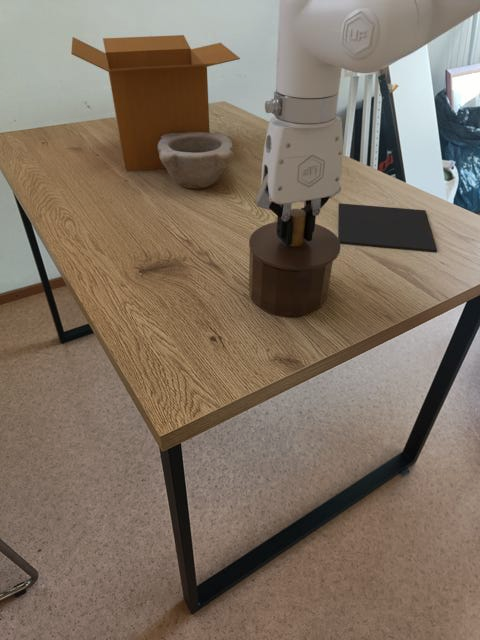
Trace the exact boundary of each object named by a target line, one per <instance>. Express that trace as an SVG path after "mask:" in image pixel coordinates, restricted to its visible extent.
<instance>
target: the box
mask: <svg viewBox="0 0 480 640" xmlns="http://www.w3.org/2000/svg"><path fill="white" fill-rule="evenodd" d="M102 41H103V47H104V50H105V51H102V50H100V49H98V48H96V47H95V46H92V45H90V44H89V43H87V42H84V41H82V40H80V39H78V38H76V37H75V36H72V39H71V50H70V51H71V55H72V56H74V57H76V58H78V59H81V60H83V61H85V62H86V63H89V64H91V65H93V66H95V67H97V68H99V69H102V70H104V71H106V72H108V77H109V84H110V90H111V97H112V101H113V107H114V113H115V119H116V126H117V131H118V137H119V143H120V149H121V153H122V159H123V164H124V165H123V166H124V169H125V171H126V172H134V171H143V170H153V169H154V170H155V169H162V168H163V169H164V168H166V167H165V166H164V165H163V163H162V162H161V160H160V157H159V152H158V143H159V141H160V140H161V136H163V135H164V134H168V133H187V132H207V133H211V132H210V111H209V109H210V108H209V85H208V84H209V83H208V68H209V67H212V66H216V65H221V64H225V63H230V62H234V61H237V60H238V61H239V60H240V59H241V57H240V56H238V55H237V54H235V53H234V52H233V51H232V50H231V49H229V48H228V47H227V46H226V45H224V44H223V43H222V42H215V43H213V44H208V45H203V46H199V47H195V48H191V46H190V45H189V42H188V40H187V38H186V36H185V35H184V34H178V35H151V36H129V37H127V36H125V37H124V36H123V37H106V38H105V37H103V38H102Z"/></svg>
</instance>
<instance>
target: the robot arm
mask: <svg viewBox="0 0 480 640" xmlns="http://www.w3.org/2000/svg"><path fill="white" fill-rule="evenodd" d="M479 12H480V0H279V6H278V26H277V50H276V51H277V52H276V80H275V85H276V86H275V91H274V92H273V99H272V98H271V100H265V104H264V110H265V113H266V114H272V115H274V117H271V118H269V122H268V126H267V130H266V135H265V141H264V146H263V153H262V164H261V176H260V177H261V179H260V180H261V182H260V183H261V184H260V186H259V189H258V190H257V191H256V192H257V193H256V195H255V197H254V199H253V202H254V203H255V204H256V205H257V206H258V207H259V208H262V209H265V210H269V211H271V212H272V213H273V214H275V216H277V218H276V222H277V236H278V237H279V238H280V239H281V240H282V241H283V242H284V243H285V245H286V246H288V245H290V244H291V243H292V230H293V221H292V220H291V219H290V213H291V209H292V205H293V204H296V203H302V202H303V207H301V208H300V209H302V210H304V211H305V212H306V220H305V230H304V239H305V240H306V241H312V234H313V232H314V228H315V224H316V218H317V216H319V215H320V213H321V209H322V208H323V207H324V206H325V204H326V203H327V202H328V201H329V200H330V199H332V198H333V197H335V196H336V195H338V194H340V193H341V191H342V187H341V181H342V172H343V158H344V157H343V155H344V135H343V133H344V132H343V122H342V118H341V117H340V116H339V115H337V109H338V101H339V94H340V93H339V92H340V84H341V77H342V70H343V69H344V70H346V71H349V72H353V73H357V74H358V73H359V74H372V73H376V72H379V71H381V70H383V69H386V68H387V67H389V66H391V65H393V64H394V63H396V62H398V61H400V60H401V59H402V60H403V58H406V57H408V56H410V55H411V54H413V53H415V52H416V51H418V50H420V49H421V48H423V47H424V46H426V45H428V44H430V43H432V41H434V40H436V39H437V38H439V37H440V36H442V35H444V34H446V33H447V32H449V31H450V30H452V29H454V28H455V27H457V26H458V25H460V24H461V23H463V22H465V21H466V20H468V19H470V18H471V17H473V16H475V15H476V14H477V13H479Z"/></svg>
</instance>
